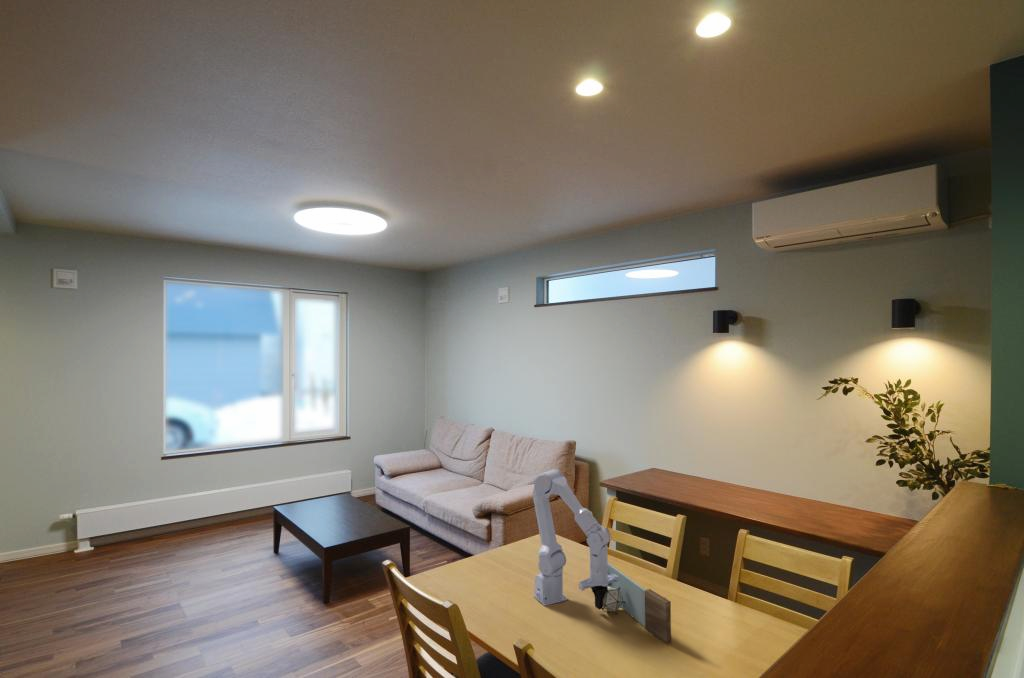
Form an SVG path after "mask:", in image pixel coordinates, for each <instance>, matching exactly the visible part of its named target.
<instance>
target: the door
mask: <svg viewBox="0 0 1024 678" xmlns="http://www.w3.org/2000/svg"><path fill="white" fill-rule="evenodd" d="M607 567H608V575H613V574H615V575H617V576H618V582H617V583H616V582H612V583H608V586H610V587H613V588H617V589H618V588H619V587H620V589H619V591H620V594H621V596H622V599H623V601H625V602H626V603H623V604H622V605H621V606H620V607H619V608H621V609H623V610H624V611H625V612H626V613H628V614H629V616H632V618H634V619H635V621H637V622H639V624H640V625H642V626H643V627H644V628H645V590H647V589H645V588H644V587H642V586H641V585H640V584H639V583H637V582H636V581H634V580H633V579H632V578H630V577H629V576H628V575H626V574H625V573H624V572H622V571H620V570H619V569H618V568H616V567H615V566H613V564H611V563H609V562H608V566H607Z"/></svg>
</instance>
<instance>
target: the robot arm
mask: <svg viewBox="0 0 1024 678" xmlns="http://www.w3.org/2000/svg"><path fill="white" fill-rule="evenodd" d="M551 495H556V496H559V497H560V498H561V499H562V500H563V501H564V502H565V504H566V505H567V506H568V507H569V509H570V510H571V511H572V512H573V513H574V521H575V522H576V523H577V525H578V526H579V528H580V529H581V530H582V531H583V533H584V534H585V536H586V537H587V538H586V543H587V545H588V548H589V577H588V578H586V579H584V580H582V581H578V590H581V591H585V590H587V589H591V592H592V591H593V592H592V593H593V595H594V606H595V608H597V609H598V610H602V609H603V598H604V596H605V594H606V592H607V587H606V586H608V583H612V582H616V583H617V582H618V576H617V575H615V574H613V575H608V567H607V566H608V563H609V562H608V544H609V542H610V540H611V533H610V531H609V530H608V528H607V527H606V526H602V525H601V524H599V522H598V520H597V519H596V518H595V517H594V516H593V512H592V511H591V510H589V509H588V508H587V507H586V508H585V507H583V506H582V504H581V503H580V501H579V499H577V496H576V495H575V494H574V492H573V490H572V489H571V488H570V486H569V484H568V481H567V478H566V477H565V476H564V475H563V473H562V472H561V471H560V470H559V469H557V468H552V469H551V470H548V471H545V472H541V473H538V474H537V475H536V477H535V478H534V479H533V489H532V499H533V505H534V511H535V514H536V520H537V521H536V522H537V526H538V532H539V537H540V538H539V539H540V543H541V547H540V548H539V551H538V553H537V554H538V562H537V566H538V570H539V572H540V573H539V574H536V575H535V577H534V594H533V597H534V598H535V599H536V600H537V601H538V602H539V603H540V604H542V605H543V606H544V607H545V606H550V605H554V604H558V603H562V602H565V601H568V597H566V595H564V593H563V591H564V590H563V588H564V585H563V583H564V582H563V581H564V580H563V575H564V574H563V572H564V571H563V570H564V567H565V565H566V563H567V556H566V554H565V552H564V550H563V547H562V545H561V544H560V543H559V542H558V541H557V536H556V530H555V526H554V520H553V514H552V510H551V505H550V504H551V503H550V499H549V497H550V496H551Z"/></svg>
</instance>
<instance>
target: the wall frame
mask: <svg viewBox="0 0 1024 678" xmlns="http://www.w3.org/2000/svg"><path fill="white" fill-rule="evenodd" d="M591 592H592V593H593V591H592V590H591ZM671 602H672V601H671V600H668V599H667V598H666V597H664V596H662V595H660V594H659V593H657V592H655V591H654V590H652V589H651V588H649V589H646V590H645V627H644V629H645V630H646V631H647V632H648V633H650V634H651V635H652V636H654V637H655V638H656V639H658V640H659V641H660V642H662V643H663V644H664V645H669V644H672V617H671V616H672V614H671V613H672V611H671V607H672V606H671V605H672V604H671Z"/></svg>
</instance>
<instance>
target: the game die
mask: <svg viewBox="0 0 1024 678" xmlns="http://www.w3.org/2000/svg"><path fill="white" fill-rule="evenodd" d="M606 587H607V592H606V594H605V596H604V598H603V608H602V609H601V611H604V610H607V611H610V612H613V613H614V615H617V611H618V610H619V609H620V608H621V607H620V606H621V605H622V604H623V603H626V602H625V601H623V599H622V596H621V594H620V591H619V589H620V587H619V588H618V589H617V588H613V587H610V586H606Z"/></svg>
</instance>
